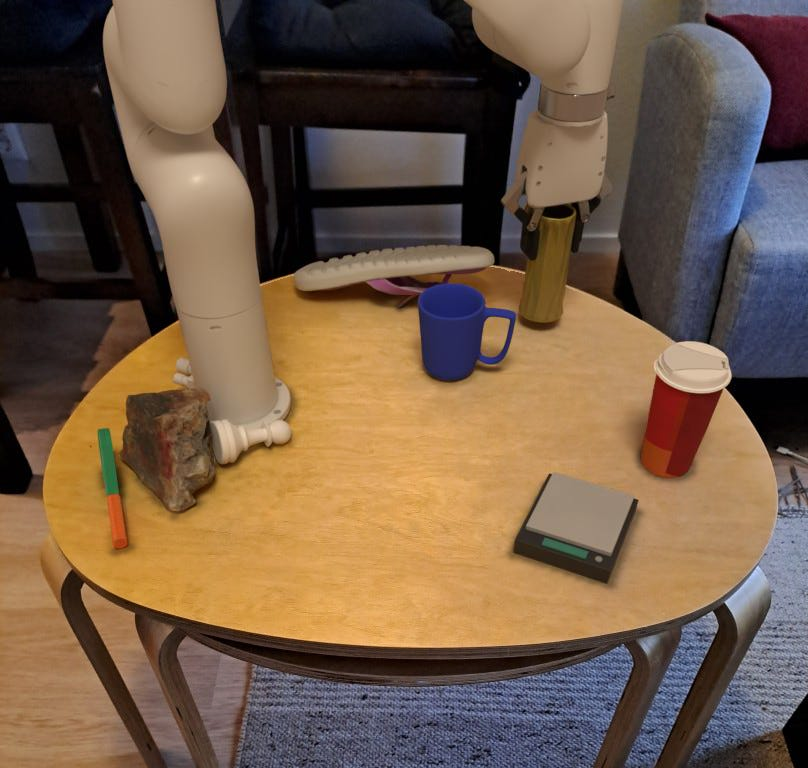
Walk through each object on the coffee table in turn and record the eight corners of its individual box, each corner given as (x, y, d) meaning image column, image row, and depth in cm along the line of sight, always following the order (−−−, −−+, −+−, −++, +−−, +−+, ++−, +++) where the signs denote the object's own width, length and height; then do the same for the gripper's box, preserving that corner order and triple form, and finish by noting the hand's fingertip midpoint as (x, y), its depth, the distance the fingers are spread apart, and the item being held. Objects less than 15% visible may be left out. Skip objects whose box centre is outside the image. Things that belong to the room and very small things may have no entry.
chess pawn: (225, 454, 90) (301, 441, 93) (212, 413, 91) (288, 401, 94) (218, 471, 94) (291, 457, 98) (206, 431, 95) (279, 419, 99)
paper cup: (700, 446, 95) (735, 344, 85) (698, 490, 90) (734, 387, 80) (633, 434, 97) (658, 333, 86) (627, 477, 92) (653, 375, 81)
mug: (506, 394, 102) (513, 325, 95) (412, 383, 104) (411, 315, 96) (513, 357, 108) (520, 289, 100) (423, 347, 109) (424, 279, 102)
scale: (513, 552, 84) (515, 535, 82) (546, 486, 91) (549, 468, 89) (607, 584, 81) (611, 567, 79) (635, 512, 88) (639, 495, 86)
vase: (515, 320, 110) (527, 217, 100) (521, 297, 114) (534, 196, 104) (560, 326, 109) (577, 223, 99) (565, 302, 113) (582, 202, 103)
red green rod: (110, 451, 95) (94, 453, 94) (107, 416, 90) (91, 417, 89) (131, 558, 87) (114, 560, 87) (129, 525, 82) (112, 527, 82)
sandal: (492, 232, 116) (497, 283, 120) (298, 258, 121) (308, 307, 124) (493, 250, 105) (497, 305, 109) (279, 278, 110) (290, 330, 113)
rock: (227, 395, 94) (151, 360, 87) (251, 471, 87) (170, 440, 80) (168, 464, 99) (92, 436, 92) (185, 541, 92) (104, 517, 85)
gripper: (621, 82, 97) (593, 229, 110) (489, 98, 93) (477, 248, 106) (654, 104, 92) (621, 255, 105) (517, 122, 88) (501, 276, 101)
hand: (549, 250), depth 105 cm, fingers closed on vase, 5 cm apart
